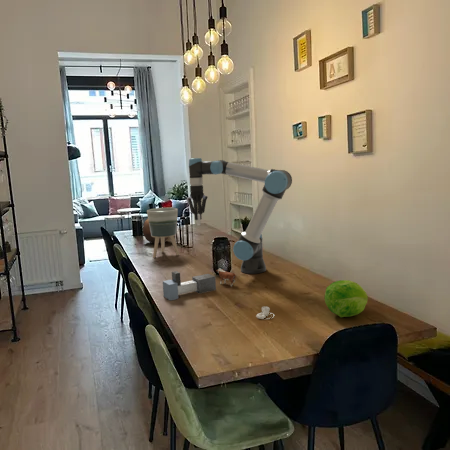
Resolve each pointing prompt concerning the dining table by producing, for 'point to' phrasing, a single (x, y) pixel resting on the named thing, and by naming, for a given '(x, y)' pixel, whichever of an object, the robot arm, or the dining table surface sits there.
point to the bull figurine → (226, 276)
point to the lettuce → (345, 298)
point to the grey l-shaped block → (184, 284)
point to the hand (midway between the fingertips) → (198, 225)
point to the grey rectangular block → (205, 283)
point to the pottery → (149, 233)
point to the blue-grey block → (170, 289)
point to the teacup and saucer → (264, 313)
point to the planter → (163, 226)
